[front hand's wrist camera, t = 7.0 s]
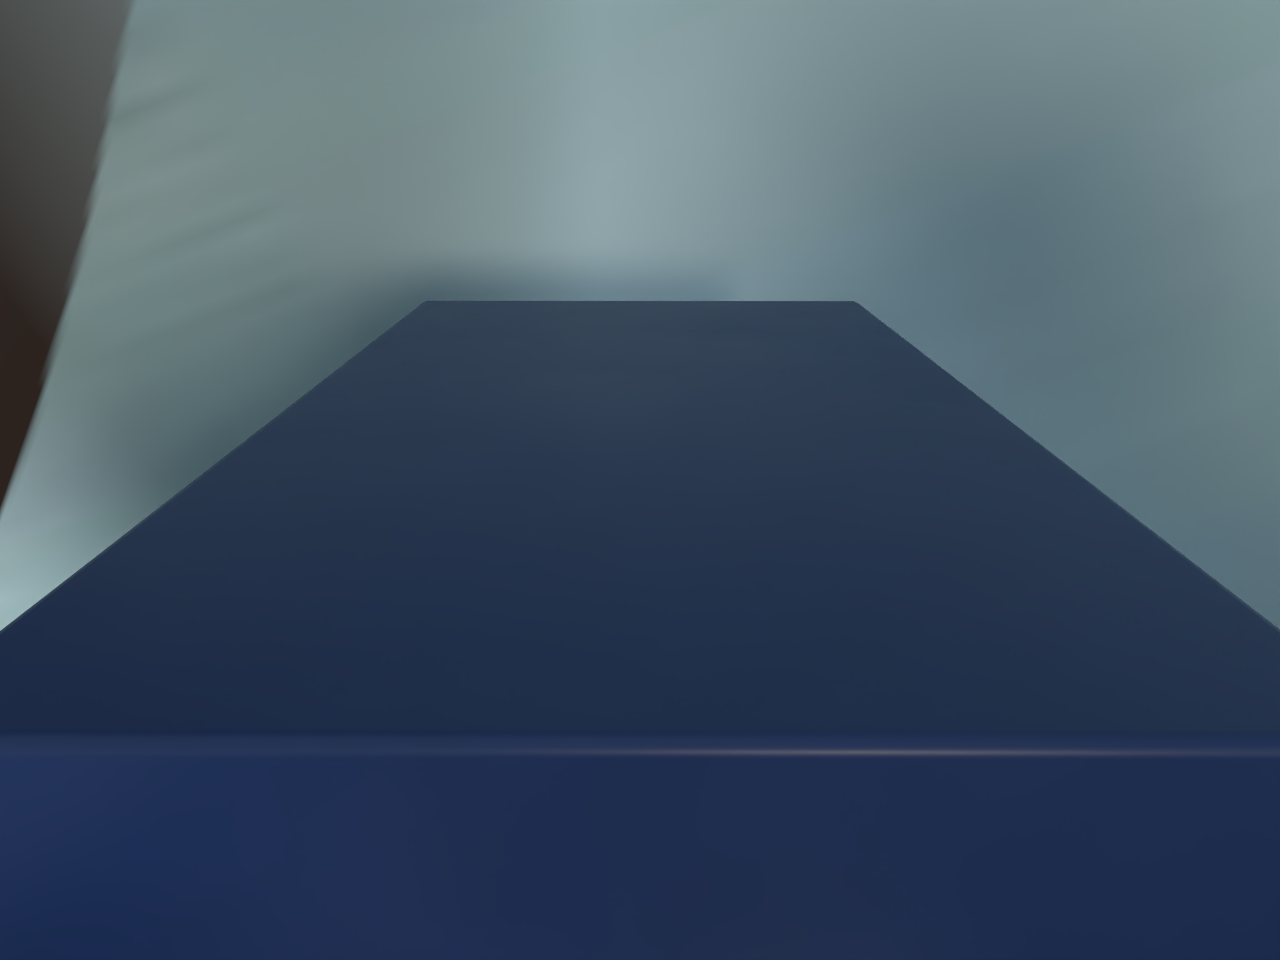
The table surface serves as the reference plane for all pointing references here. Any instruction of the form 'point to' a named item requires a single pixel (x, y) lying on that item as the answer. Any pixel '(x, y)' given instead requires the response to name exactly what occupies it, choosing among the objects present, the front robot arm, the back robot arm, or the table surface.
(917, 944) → the box
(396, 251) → the table surface
